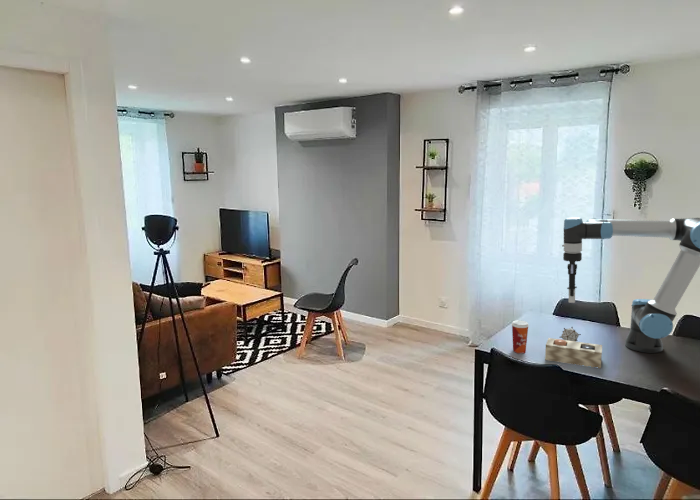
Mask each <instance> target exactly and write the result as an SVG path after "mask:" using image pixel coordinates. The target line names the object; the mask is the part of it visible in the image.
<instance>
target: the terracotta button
mask: <svg viewBox="0 0 700 500" xmlns="http://www.w3.org/2000/svg"><path fill="white" fill-rule="evenodd" d="M555 339H556V340H555V345H562V346H566V341H565V340H563V339H562V338H555Z"/></svg>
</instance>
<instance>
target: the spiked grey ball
mask: <svg viewBox="0 0 700 500" xmlns="http://www.w3.org/2000/svg"><path fill="white" fill-rule="evenodd" d="M579 336H581V333H579V332H577V331H576V329H574V328H573V326H571V327H570V328H565V327H563V330H562V334H561V336H559V339H562V340H568V341H576V342H579V341H578V338H579Z"/></svg>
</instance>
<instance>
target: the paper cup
mask: <svg viewBox="0 0 700 500" xmlns="http://www.w3.org/2000/svg"><path fill="white" fill-rule="evenodd" d="M510 325H511V329H512V330H511V331H512V332H511V333H512V350H513V352H514V353H516V354H525V353H526V351H527V343H528V342H527V341H528V331H529V327H530V325H529V323H528V322H527V321H526V320H518V319H516V320H513V321H512V323H511V324H510Z"/></svg>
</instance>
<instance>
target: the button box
mask: <svg viewBox="0 0 700 500" xmlns="http://www.w3.org/2000/svg"><path fill="white" fill-rule="evenodd" d="M547 338H548V339H547V340H546V344H545V355H544V358H545V359H544V360H545V361H550V362H556V363H557V362H558V363H564V364H570V365H575V364H576V365H575V366H582V365H584V366H583V367H588V366H591V367H590V368H594V367H598V368H597V369H601V368H602V358H603V357H602V355H603V344H597V343H589V342H582V341H568V340H565V341H566V346H562V345H555V340H556V339H557V338H552V337H547ZM584 345H588V346H592V347H593V348H594V350H591V349H583V348H582V346H584Z"/></svg>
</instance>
